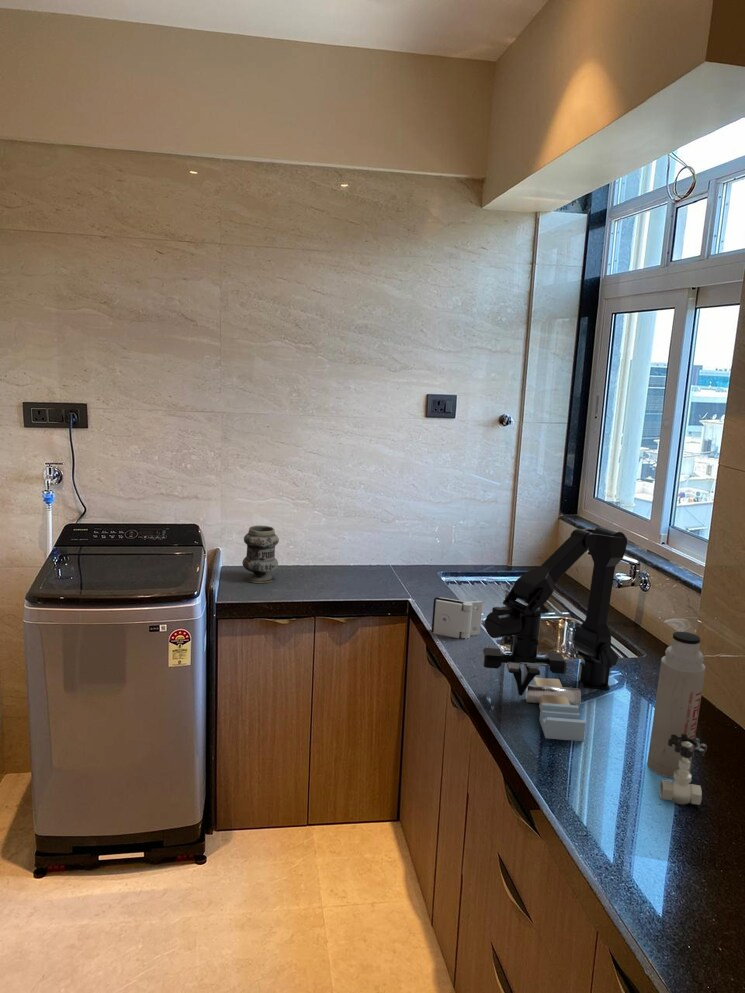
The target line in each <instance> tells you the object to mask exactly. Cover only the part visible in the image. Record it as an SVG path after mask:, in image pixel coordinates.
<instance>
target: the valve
mask: <svg viewBox="0 0 745 993" xmlns="http://www.w3.org/2000/svg"><path fill="white" fill-rule="evenodd" d="M682 741H684V742H683V743H682V745H681V742H682ZM700 742H701V740H700V738H698V737H695V738H693V739H690V738H688V736H687V735H686V734H681V737H677V735H674V734H672V735H671V739H669V740H668V745H669V746H671V747H672V744H674V745H675V749H674V751H675V752H677V753H680V755H681V756H682V758H681V759H680V760H679V766H678V767H680V768H679V769H678V770H675V771H674V778H673V779H674V780H668V779H660V780H659V797H660V799H661V800H667V801H672V802H673V803H675V804H678V805H687V804H692V805H699V806H700V805H701V803H702V798H703V794H702V786H701V785H700V784H693V783H691V782H692V774H691V772H690V773H689V771H688V769H689V768H690V761H689V760H688V758H691V757H692V758H693V757H694V756H696V755H698V756H700V757H705V752H707V749H708V745H707V744H706V743H700ZM691 743H692V744H694V748H692V746H693V745H692V744H691ZM690 769H691V768H690Z"/></svg>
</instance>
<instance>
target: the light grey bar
mask: <svg viewBox="0 0 745 993" xmlns="http://www.w3.org/2000/svg"><path fill="white" fill-rule="evenodd" d="M540 695H549V696H561V697H567V699H568V701H569V703H570V705H578V707H580V706H581V703H582V692H581V689H580V688H576V687H575V688H574V687H566V686H565V687H563V686H562V687H552V686H539V685H533V684H529V685H528V686H527V688H526V690H525V701H526V703H534V704H540Z"/></svg>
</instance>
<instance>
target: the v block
mask: <svg viewBox="0 0 745 993" xmlns="http://www.w3.org/2000/svg"><path fill="white" fill-rule="evenodd" d="M579 710H580V706H578V705H566V704H553V703H541V710H540V709H539V723H540V727H541V729H542V732H543V734H544V738H545V739H549V740H550V739H553V740H564V741H577V742H585V740H584V739H585V733H586V724H587V723H586V720H585V719H580V716H581V714H580V713H579V712H580V711H579Z"/></svg>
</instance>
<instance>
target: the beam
mask: <svg viewBox="0 0 745 993" xmlns="http://www.w3.org/2000/svg"><path fill="white" fill-rule="evenodd" d="M532 685H539V686H552V687H563V685H562V683H561V681H560V679H559V678H545V677H536V676H535V677H534V678H533V684H532ZM541 703H553V704H566V705H570V703H569V701H568V699H567V697H561V696H549V695H540V703H538V705H539V706H538V707H539V711H540V710H541Z"/></svg>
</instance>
